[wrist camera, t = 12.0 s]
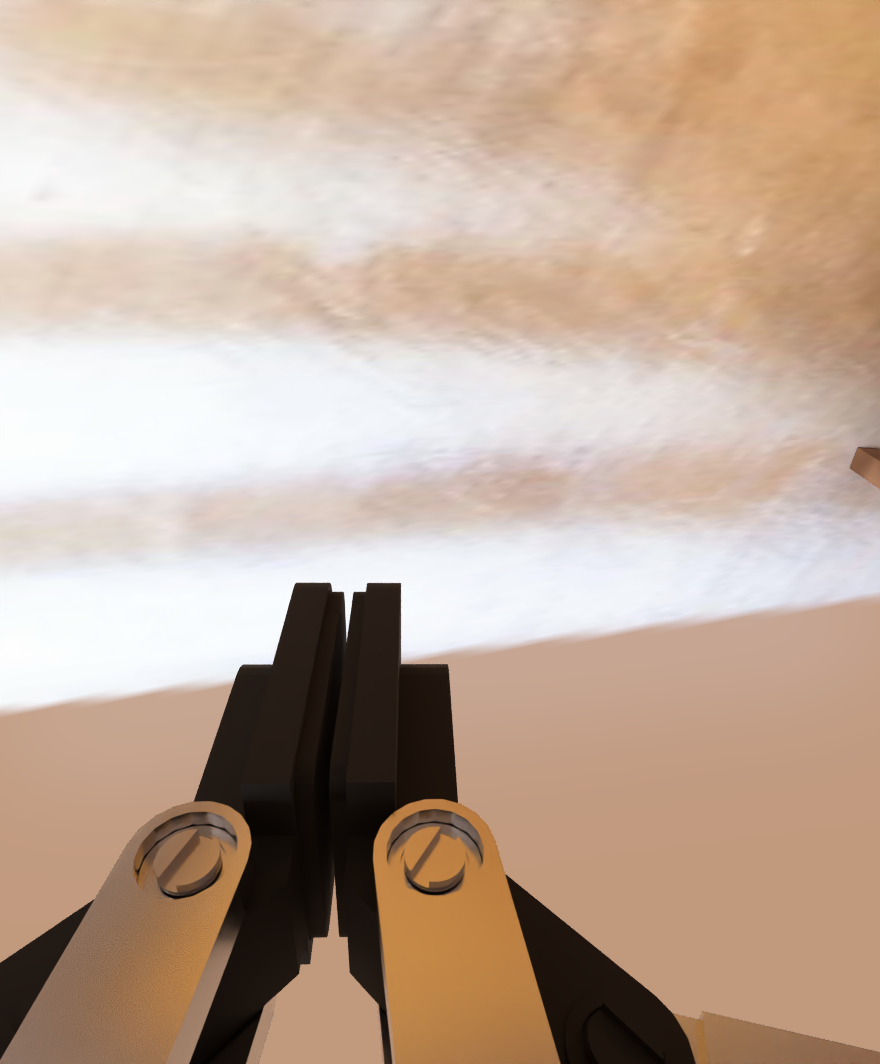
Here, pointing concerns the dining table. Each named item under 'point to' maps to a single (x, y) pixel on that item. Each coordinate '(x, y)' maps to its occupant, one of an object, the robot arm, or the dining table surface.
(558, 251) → the dining table surface
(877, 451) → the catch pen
